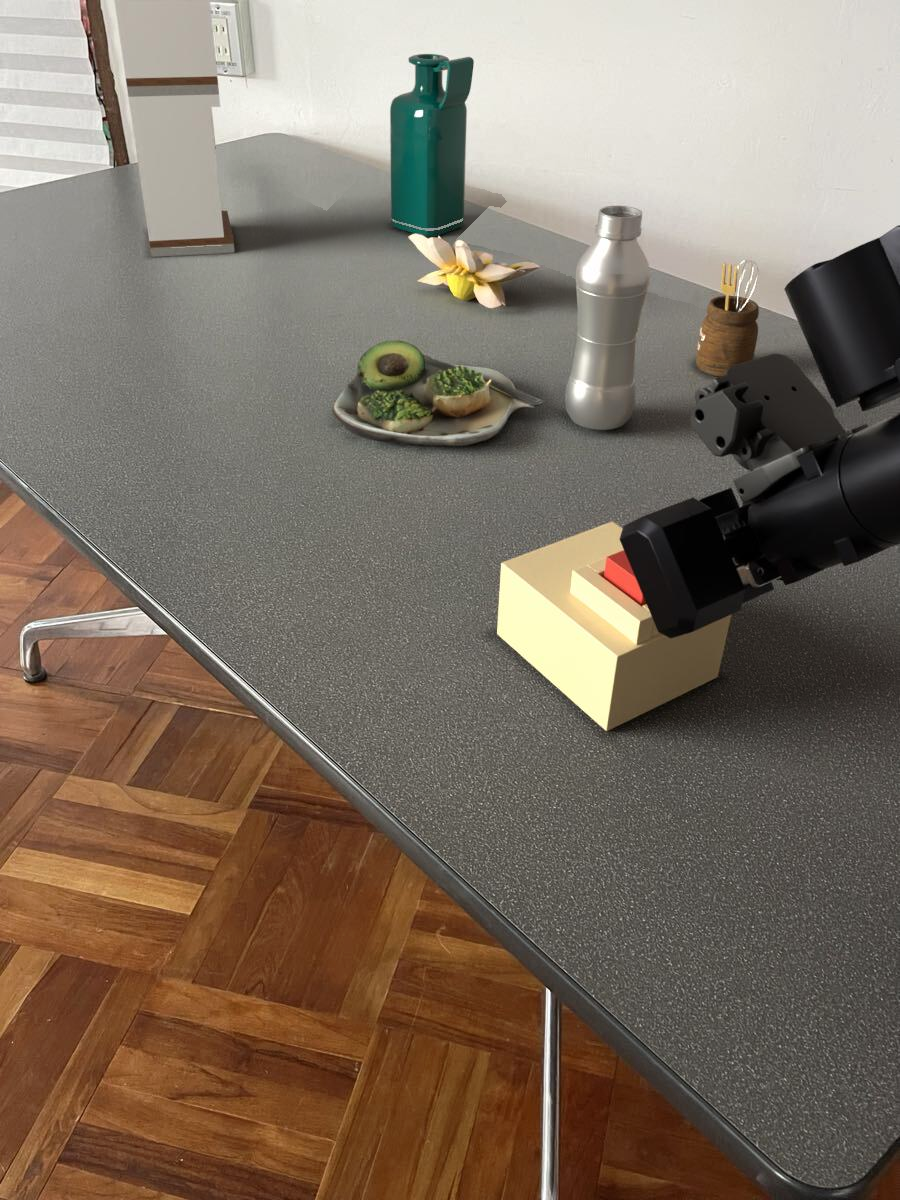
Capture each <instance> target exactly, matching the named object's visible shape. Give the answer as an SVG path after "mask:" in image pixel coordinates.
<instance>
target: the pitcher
mask: <svg viewBox="0 0 900 1200" xmlns="http://www.w3.org/2000/svg"><path fill="white" fill-rule="evenodd" d="M407 61H408V63H409V64H412V65H414V86H413V88H412V90H411V91H408V92H405V93H402V94H399V95H397V96H395V97H394V98H393V99H392V101H391V103H390V106H389V136H390V137H389V142H390V143H389V144H390V221H391V223H390V224H391V225H392V227H393V228H395V229H397V230H400V231H404V232H408V233H411V234H420V235H423V236H424V237H426V238H432V237H438V236H441V235H444V234H446V233H449V232H452V231H455V230H457V229H461V228H462V226H463V225H464V223H465V219H464V220H463V221H462V222H460V223H457V224H454V225H451V226H449V227H446V228H443V229H440V230H434V231H425V230H419V229H416V228H413V227H409V226H406V225H402V224H399V223H395V222H393V221H392V220H391V218H392V219H394V220H396V221H399V222H403V223H407V224H411V225H414V226H417V227H421V228H438V227H441V226H444V225H447V224H449V223H452V222H454V221H457V220H460V219H462V218H463V217H464V218H465V191H466V162H467V161H466V160H467V159H466V158H467V157H466V156H467V123H468V121H467V120H468V109H467V104H466V101H467V100H468V99H469V95H470V93H471V89H472V81H473V74H474V73H473V72H474V65H475V61H474V58H472V57H471V56H464V57H459V58H455V59H449V57H447V56H445V55H442V54H437V53H418V54H413V55H411V56H409V57H408V59H407ZM444 71H447V72H446V84H445V88H444V85H443V73H444ZM444 89H445V90H444Z"/></svg>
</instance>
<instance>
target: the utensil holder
mask: <svg viewBox="0 0 900 1200" xmlns="http://www.w3.org/2000/svg"><path fill="white" fill-rule="evenodd" d="M750 262H751V265H754V264H755V265H756V269H757V270H756V271H757V272H756V276H755V282H754V285H753V287H752V291H751V292H750V294H749V296H748V293H749V290H750V287H751V283H752V279H753V274H754V271H753V267H751V268H750V274H749V278H748V281H747V285H746V289H745V291H744V295H743V296H739V295H740V292H741V290H740V289H741V287H742V285H741V284H742V282H743V279H744V275H745V273H746V272H745V271H746V268H747V267H748V264H749V263H750ZM743 264H744V265H743ZM742 265H743V266H742ZM741 266H742V271H741V273H740V278H739V283H738V272H739V270H740V267H741ZM733 269H734V272H733V271H732V270H733ZM726 272H727V280H726ZM732 272H733V278H732ZM758 277H759V267H758V264H757V262H755V261H754V260H750V259H747V260H743V261H741V263H740V264H738V265H735V266H734V268H733V265H732V264H731V263H730V264H728V270H727V263H726V262H723V264H722V271H721V283H720V292H722V293H723V294H724V295H720V296H715V297H713V298H711V299H710V300H709V302H708V305H707V307H706V316H705V317H704V318H703V320H702V322H701V326H700V329H699V333H698V334H699V335H698V342H697V347H696V354H695V364H696V367H697V368H698V369H699V370H700V371H701V372H703V373H705V374H707V375H710V376H714V377H717V378H718V377H721V376H724V374H725V373H726V371H727V370H728V369H729V368H730V367H731V366H734V365H737V364H740V363H744V362H747V361H750V360H754V356H755V352H756V347H757V342H758V336H759V335H758V334H759V325H758V322H757V320H758V318H759V313H760V312H759V311H760V309H759V308H760V307H759V305H758V303H757V302H756V301H754V300H751V297H752V294H754V291H755V290H756V286H757V283H758ZM732 279H733V280H732ZM737 284H738V286H739V287H738V289H737ZM736 292H737V293H738V295H735V294H736ZM747 296H748V297H747Z"/></svg>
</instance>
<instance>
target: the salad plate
mask: <svg viewBox="0 0 900 1200" xmlns="http://www.w3.org/2000/svg"><path fill="white" fill-rule="evenodd" d="M543 403H544V401H543V399H541V398H539V397H537V396H534V395H532V394H529V393H526V392H524V391H521V390H519V389H516V388H515V385H514V384H513V382H512V381H511V380H510V378H508V377H507V376H505V374H504V373H503V374H502V372H500V371H498V370H496V369H492V368H488V367H480V366H470V365H462V364H460V365H459V364H452V363H447V362H443V361H440V360H438V359H435V358H432V357H431V356H429V355H427V354H423V353H422V351H421V350H420V349H419V348H418V347H417V346H415V345H414V344H412V343H410V342H407V341H403V340H397V339H396V340H385V341H383V342H380V343H377V344H375V345H373V346H372V347H370V348H368V350H366V352H364V353H363V355H361V357H360V359H359V360H358V362H357V371H356V373H355V374H354V375H353V377H352V378H351V379H350V381H349V382H348V384H347V385H346V386H345V388H344V389H343V390H342V391H341V393H340V395H339V396H338V397H337V398H336V400H335V403H334V404H333V405H332V409H331V412H332V415H333V416H334V417H335V419H336V420H337V421H338V422H339V423H340V424H341V425H342V426H343V427H344V428H345V429H346V430H347V431H348V432H350V433H351V434H354V435H356V436H359V437H361V438H366V439H368V440H373V441H380V442H390V443H391V442H393V443H396V444H401V445H411V446H412V445H417V446H450V447H465V446H466V447H467V446H470V445H474V444H477V443H481V442H484V441H487V440H490V439H491V438H493V437H495V436H496V435H497V434H499V432H500V431H501V430H502V429H503V428H504V426H505V425H506V423H507V421H508V418H509V417H510V416H511V414H512V413H513V412H514V411H516V410H518V409H521V408H537V407H541V406H542V405H543Z"/></svg>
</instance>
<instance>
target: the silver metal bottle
mask: <svg viewBox="0 0 900 1200" xmlns="http://www.w3.org/2000/svg"><path fill="white" fill-rule="evenodd" d="M642 220H643V211H642V210H641V209H639V208H637V207H634V206H633V207H632V206H627V205H607V206H603V207H601V208H599V211H598V216H597V223H596V224H595V234H597V238H596V239H595V240H594V242H592V243H591V245H589V246H588V248H587V249H586V250H585V251H584V253H583V255H581V257H580V259H579V260H578V263H577V266H576V268H575V289H576V303H577V304H576V305H577V321H576V322H577V325H576V327H577V330H576V342H575V348H574V355H573V361H572V366H571V372H570V374H569V377H568V379H567V380H568V381H567V383H566V389H565V393H564V402H565V411H566V413H567V415H568V417H569V418H570V419H571V421H572V422H573V423H574V424H575V425H578V426H579V427H581V428H586V429H591V430H596V431H598V430H599V431H607V430H614V429H618V428H620V427H622V426H624V425H625V424H626V423H627V422H628V420H629V419H630V418H631V417H632V414H633V412H634V408H635V405H636V402H637V401H636V398H637V396H636V392H637V391H636V382H635V381H636V380H635V364H636V363H635V359H636V358H635V357H636V343H637V337H638V332H639V326H640V320H641V314H642V311H643V307H644V304H645V300H646V296H647V293H648V288H649V286H650V281H651V270H650V264H649V262H648V259H647V257H646V255H645V252H644V251H643V249H642V248H641V245H640V243H639V242H638V238H639V237H641V235H642Z"/></svg>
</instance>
